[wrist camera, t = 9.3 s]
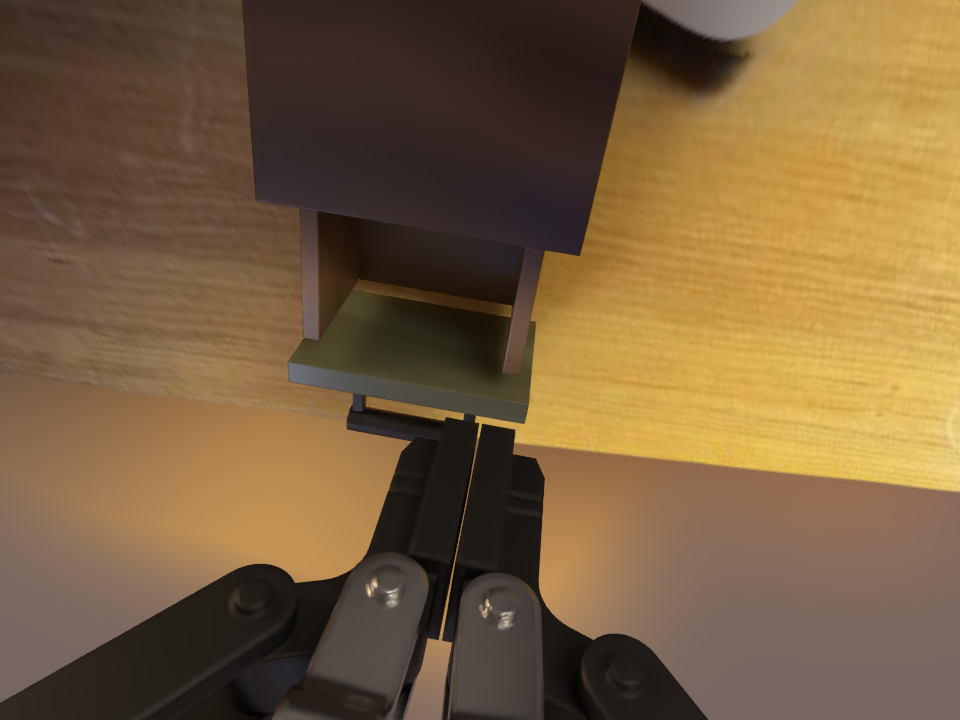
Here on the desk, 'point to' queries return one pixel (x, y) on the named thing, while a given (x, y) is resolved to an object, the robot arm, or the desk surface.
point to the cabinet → (438, 111)
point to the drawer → (414, 323)
